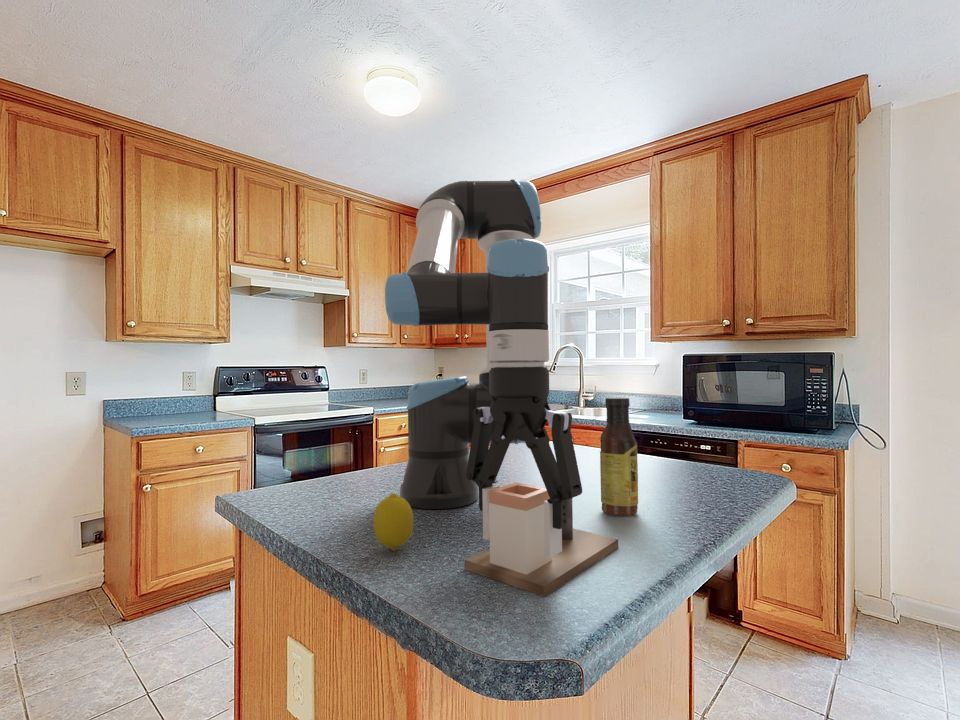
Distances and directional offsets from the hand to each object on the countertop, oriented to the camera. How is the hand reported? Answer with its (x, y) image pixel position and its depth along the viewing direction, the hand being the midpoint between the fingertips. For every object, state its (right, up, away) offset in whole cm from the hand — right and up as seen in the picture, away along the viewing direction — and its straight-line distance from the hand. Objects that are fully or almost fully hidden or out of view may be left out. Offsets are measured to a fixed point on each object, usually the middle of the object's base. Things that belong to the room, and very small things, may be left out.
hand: (521, 544), depth 63 cm
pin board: (+4, -3, +4) cm, 6 cm away
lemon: (-17, -4, +7) cm, 19 cm away
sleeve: (0, -2, 0) cm, 2 cm away
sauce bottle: (+19, -3, +24) cm, 31 cm away
